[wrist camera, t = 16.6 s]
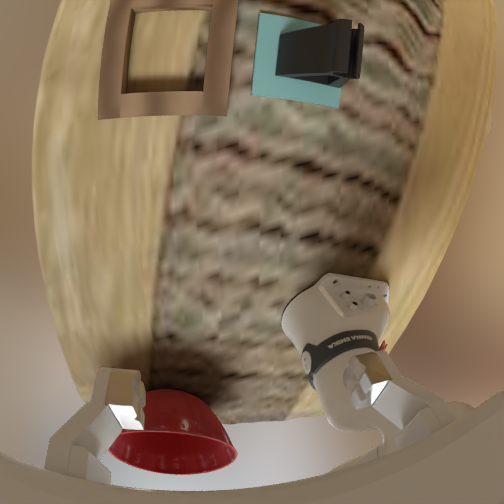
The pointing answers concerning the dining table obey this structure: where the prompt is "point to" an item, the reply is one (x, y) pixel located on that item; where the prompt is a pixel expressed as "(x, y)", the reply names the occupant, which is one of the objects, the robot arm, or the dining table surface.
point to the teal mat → (267, 60)
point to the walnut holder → (168, 102)
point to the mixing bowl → (175, 437)
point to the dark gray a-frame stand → (322, 53)
